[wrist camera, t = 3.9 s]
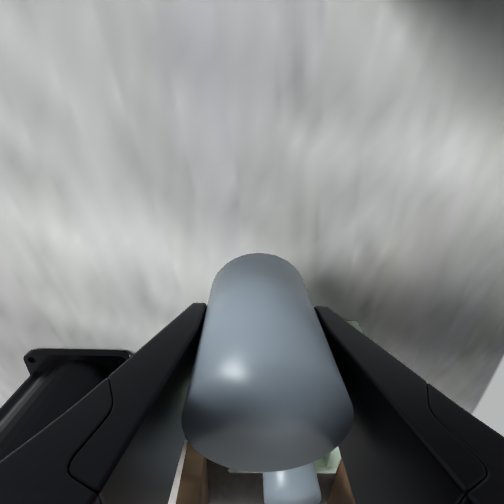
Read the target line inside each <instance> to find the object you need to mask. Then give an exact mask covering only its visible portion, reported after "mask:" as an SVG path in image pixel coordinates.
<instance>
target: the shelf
mask: <svg viewBox="0 0 504 504" xmlns="http://www.w3.org/2000/svg"><path fill="white" fill-rule="evenodd" d="M176 504H209V500H208V479H207V458H206V457H204V456H202V455H201V454H200V453H198V452H197V451H196V450H195V449H194V448H193V447H192V446H191V445H190V443H189V442H188V443H187V449H186V454H185V459H184V464H183V469H182V474H181V480H180V485H179V490H178V495H177V500H176ZM327 504H355V501H354V497H353V494H352V491H351V487H350V484H349V481H348V477H347V474H346V471H345V467H344V464H343V461H342V459H341V462H340V465H339V468H338V471H337V474H336V477H335V480H334V483H333V486H332V489H331V492H330V495H329V498H328V501H327Z"/></svg>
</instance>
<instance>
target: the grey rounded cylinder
mask: <svg viewBox="0 0 504 504" xmlns="http://www.w3.org/2000/svg"><path fill="white" fill-rule="evenodd" d="M353 414H354V411H353V406H352V402H351V400H350V397H349V395H348V392H347V390H346V387H345V385H344V382H343V380H342V377H341V375H340V372H339V370H338V367H337V365H336V362H335V360H334V357H333V355H332V352H331V350H330V347H329V345H328V342H327V339H326V337H325V334H324V332H323V329H322V327H321V324H320V322H319V319H318V317H317V314H316V312H315V309H314V307H313V304H312V302H311V299H310V297H309V294H308V292H307V289H306V287H305V284H304V282H303V279H302V277H301V275H300V273H299V272H298V271H297V269H296V268H295V267H294V266H293V265H292V264H290V263H289V262H287V261H286V260H284V259H282V258H280V257H277V256H275V255H270V254H263V253H254V254H247V255H244V256H241V257H238V258H236V259H234V260H232V261H230V262H229V263H227V264H226V265H225V266H224V267H223V268H222V269H221V270H220V271H219V272H218V274H217V275H216V277H215V279H214V281H213V284H212V288H211V292H210V297H209V301H208V305H207V309H206V313H205V318H204V322H203V326H202V330H201V335H200V339H199V343H198V347H197V352H196V356H195V360H194V364H193V369H192V373H191V377H190V381H189V385H188V390H187V394H186V398H185V402H184V407H183V411H182V416H181V425H182V429H183V433H184V435H185V437H186V439H187V440H188V442H189V443H190V445H191V446H192V447H193V448H194V449H195V450H196V451H197V452H198V453H200V454H201V455H202V456H204V457H206V458H207V459H209V460H211V461H213V462H215V463H217V464H220V465H222V466H225V467H229V468H232V469H237V470H242V471H250V472H275V471H283V470H289V469H294V468H297V467H301V466H304V465H307V464H310V463H312V462H314V461H316V460H319V459H320V458H322V457H324V456H326V455H327V454H329V453H330V452H332V451H333V450H334V449H335V448H336V447H338V446H339V445H340V444H341V442H342V441H343V440H344V439H345V438H346V436H347V434H348V433H349V431H350V429H351V426H352V422H353Z"/></svg>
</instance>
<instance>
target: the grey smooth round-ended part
mask: <svg viewBox="0 0 504 504" xmlns="http://www.w3.org/2000/svg"><path fill="white" fill-rule="evenodd" d="M263 490H264V504H319V503H320V502H321V492H320V487H319V483H318V478H317V473H316V468H315V464H314V462H312V463H310V464H307V465H304V466H301V467H297V468H294V469H289V470H283V471H275V472H263Z"/></svg>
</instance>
